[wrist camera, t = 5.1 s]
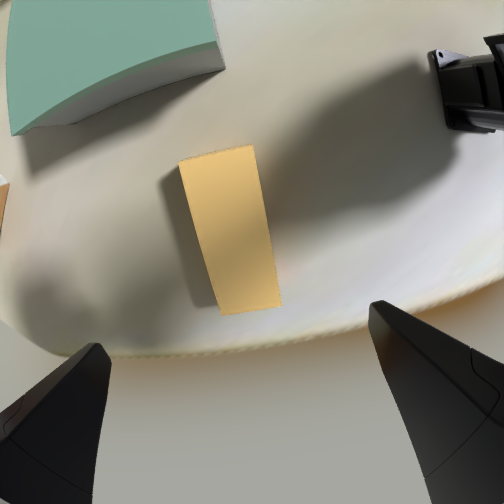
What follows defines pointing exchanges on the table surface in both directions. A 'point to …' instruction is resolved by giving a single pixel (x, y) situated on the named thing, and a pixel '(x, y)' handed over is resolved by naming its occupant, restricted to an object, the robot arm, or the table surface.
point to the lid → (92, 48)
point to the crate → (140, 83)
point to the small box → (3, 195)
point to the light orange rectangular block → (232, 228)
